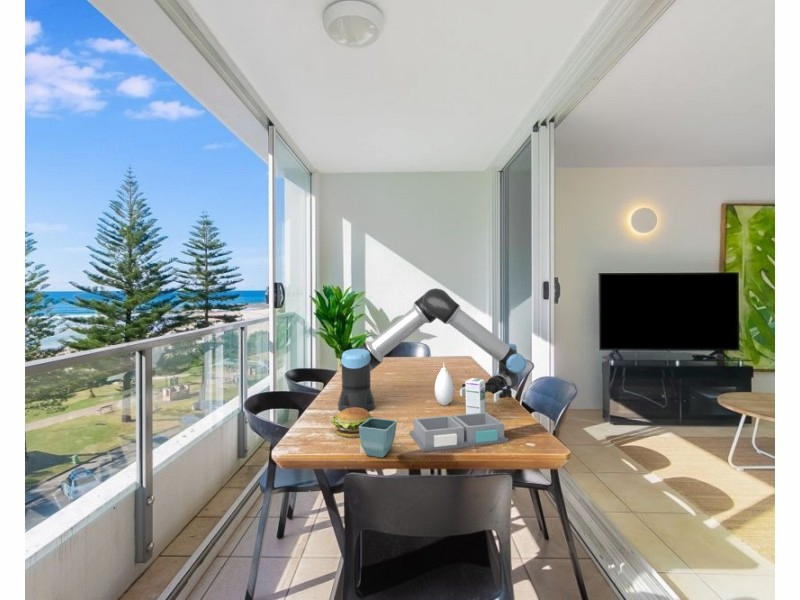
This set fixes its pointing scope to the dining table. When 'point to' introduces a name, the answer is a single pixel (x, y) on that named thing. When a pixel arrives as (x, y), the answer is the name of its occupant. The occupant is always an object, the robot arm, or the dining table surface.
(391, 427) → the flower pot
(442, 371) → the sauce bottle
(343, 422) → the food
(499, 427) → the sorting bin tray
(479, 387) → the syrup box
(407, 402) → the dining table surface
